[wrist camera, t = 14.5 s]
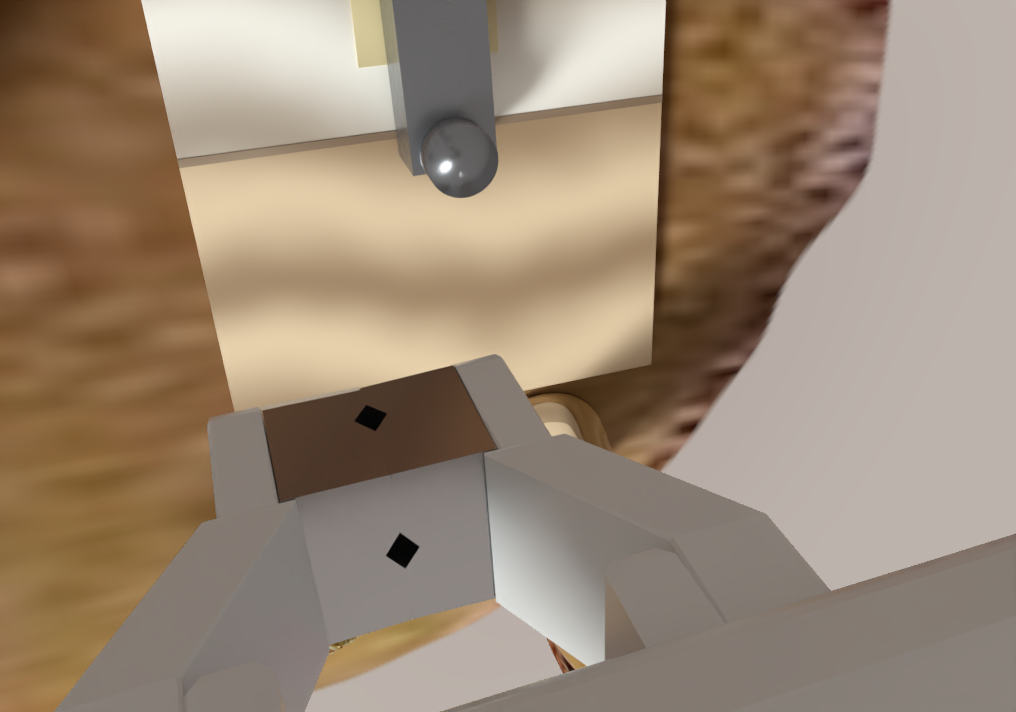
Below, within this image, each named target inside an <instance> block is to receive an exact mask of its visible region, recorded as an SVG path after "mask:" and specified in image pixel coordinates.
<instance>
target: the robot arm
mask: <svg viewBox="0 0 1016 712" xmlns="http://www.w3.org/2000/svg"><path fill="white" fill-rule="evenodd" d="M262 412H263V415H262ZM262 412H261V409H260V408H259V407H253V408H249V409H245V410H240V411H236V412H232V413H227V414H223V415H219V416H214V417H210V418H209V421H208V424H207V428H208V438H209V448H210V458H211V468H212V477H213V487H214V497H215V507H216V517H217V519H214V520H210V521H206V522H202V523H201V524H200V525H199V527H198V528H197V529H196V530H195V532H194V533H193V534H192V536H191V537H190V538H189V539H188V541H187V542H186V543H185V545H184V546H183V547H182V548H181V550H180V551H179V552H178V554H177V555H176V556H175V557H174V559H173V560H172V561H171V563H170V564H169V565H168V566H167V568H166V569H165V570H164V571H163V573H162V574H161V575H160V577H159V578H158V579H157V580H156V582H155V583H154V584H153V586H152V587H151V588H150V589H149V591H148V592H147V593H146V595H145V596H144V597H143V598H142V600H141V601H140V602H139V604H138V605H137V606H136V607H135V609H134V610H133V611H132V612H131V614H130V615H129V616H128V618H127V619H126V620H125V621H124V623H123V624H122V625H121V627H120V628H119V629H118V630H117V632H116V633H115V634H114V636H113V637H112V638H111V639H110V641H109V642H108V643H107V645H106V646H105V647H104V648H103V650H102V651H101V652H100V653H99V655H98V656H97V657H96V659H95V660H94V661H93V662H92V664H91V665H90V666H89V668H88V669H87V670H86V671H85V673H84V674H83V675H82V677H81V678H80V679H79V680H78V682H77V683H76V684H75V686H74V687H73V688H72V689H71V691H70V692H69V693H68V694H67V696H66V697H65V698H64V700H63V701H62V702H61V703H60V705H59V706H58V707H57V709H56V710H55V711H54V712H305V709H306V707H307V704H308V702H309V699H310V697H311V695H312V692H313V690H314V687H315V685H316V683H317V680H318V678H319V675H320V673H321V671H322V668H323V666H324V663H325V661H326V658H327V656H328V654H329V651H330V648H329V645H331V644H334V643H338V642H341V641H344V640H347V639H350V638H354V637H357V636H360V635H363V634H366V633H370V632H373V631H376V630H379V629H383V628H386V627H389V626H392V625H395V624H399V623H402V622H405V621H408V620H411V619H415V618H419V617H423V616H427V615H431V614H435V613H439V612H443V611H446V610H450V609H454V608H458V607H462V606H466V605H470V604H474V603H478V602H482V601H486V600H490V599H493V598H496V602H497V603H499V604H500V605H502V606H503V607H505V608H506V609H507V610H509V611H510V612H512V613H513V614H515V615H516V616H517V617H519V618H520V619H521V620H523V621H524V622H526V623H527V624H528V625H530V626H531V627H533V628H534V629H535V630H537V631H538V632H540V633H541V634H542V635H544V636H545V637H547V638H548V639H550V640H551V641H552V642H554V643H555V644H557V645H558V646H559V647H561V648H562V649H564V650H565V651H566V652H568V653H569V654H571V655H572V656H573V657H575V658H576V659H578V660H579V661H580V662H582V663H583V664H585V665H586V667H583V668H580V669H577V670H573V671H570V672H567V673H564V674H560V675H557V676H554V677H551V678H548V679H544V680H541V681H538V682H535V683H532V684H528V685H525V686H522V687H519V688H515V689H512V690H509V691H506V692H502V693H499V694H496V695H493V696H490V697H486V698H483V699H480V700H477V701H473V702H471V703H467V704H464V705H461V706H457V707H454V708H451V709H448V710H445V711H441V712H1016V534H1013V535H1010V536H1007V537H1004V538H1001V539H998V540H994V541H991V542H988V543H985V544H981V545H978V546H975V547H972V548H969V549H966V550H962V551H959V552H956V553H953V554H950V555H947V556H943V557H940V558H937V559H934V560H931V561H927V562H924V563H921V564H918V565H914V566H911V567H908V568H905V569H902V570H898V571H895V572H892V573H888V574H885V575H882V576H879V577H876V578H872V579H869V580H866V581H862V582H859V583H856V584H853V585H850V586H846V587H843V588H840V589H837V590H833V591H831V590H830V589H829V588H828V587H827V586H826V584H825V583H824V582H823V581H822V580H821V579H820V578H819V576H818V575H817V574H816V573H815V571H814V570H813V569H812V568H811V567H810V565H809V564H808V563H807V562H806V561H805V560H804V558H803V557H802V556H801V555H800V554H799V552H798V551H797V550H796V549H795V548H794V546H793V545H792V544H791V543H790V542H789V541H788V539H787V538H786V537H785V536H784V535H783V533H782V532H781V531H780V530H779V529H778V527H777V526H776V525H775V524H774V523H773V522H772V520H771V519H770V518H769V517H768V516H767V514H765V513H762V512H760V511H757V510H755V509H752V508H750V507H747V506H744V505H742V504H740V503H737V502H735V501H732V500H730V499H727V498H725V497H722V496H720V495H717V494H715V493H712V492H710V491H707V490H705V489H702V488H700V487H697V486H695V485H692V484H690V483H687V482H685V481H682V480H680V479H677V478H675V477H672V476H670V475H667V474H665V473H662V472H660V471H657V470H655V469H652V468H650V467H647V466H645V465H642V464H640V463H637V462H635V461H632V460H630V459H627V458H625V457H622V456H620V455H617V454H615V453H612V452H610V451H607V450H605V449H602V448H600V447H598V446H595V445H593V444H590V443H588V442H585V441H583V440H580V439H578V438H575V437H573V436H570V435H568V434H560V435H556V436H551V434H550V433H549V431H548V429H547V428H546V426H545V425H544V423H543V421H542V420H541V418H540V417H539V415H538V414H537V412H536V410H535V409H534V407H533V406H532V404H531V402H530V401H529V399H528V398H527V396H526V394H525V393H524V391H523V390H522V388H521V387H520V385H519V383H518V382H517V380H516V379H515V377H514V375H513V374H512V372H511V371H510V369H509V368H508V366H507V364H506V363H505V361H504V360H503V358H502V357H501V356H499V355H497V354H492V355H488V356H484V357H480V358H477V359H473V360H469V361H465V362H461V363H457V364H453V365H451V366H447V367H443V368H439V369H435V370H431V371H427V372H423V373H419V374H415V375H411V376H407V377H403V378H398V379H394V380H390V381H386V382H382V383H378V384H374V385H370V386H366V387H362V388H359V387H355V388H350V389H345V390H340V391H335V392H330V393H325V394H320V395H315V396H310V397H305V398H300V399H295V400H290V401H285V402H280V403H275V404H270V405H265V406H262ZM263 418H264V419H263Z"/></svg>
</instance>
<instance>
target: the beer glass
mask: <svg viewBox="0 0 1016 712" xmlns="http://www.w3.org/2000/svg"><path fill="white" fill-rule="evenodd" d="M528 399H529V401H530V402H531V404H532V406H533V407H534V409H535V410H536V412H537V414H538V415H539V417H540V418H541V420H542V421H543V423H544V425H545V426H546V428H547V429H548V431H549V433H550V434H551V436H556V435H560V434H568V435H570V436H573V437H575V438H578V439H580V440H583V441H585V442H588V443H590V444H593V445H595V446H598V447H600V448H602V449H605V450H607V451H610V452H612V453H613V451H612V449H611V446H610V444H609V441H608V438H607V435H606V432H605V429H604V427H603V424H602V422H601V420H600V418H599V417H598V415H597V413H596V412H595V411H594V409H593V408H592V407H591V406H589V405H588V404H587V403H586V402H584V401H583V400H581V399H579V398H577V397H575V396H572V395H568V394H562V393H547V394H540V395H536V396H533V397H529V398H528ZM546 638H547V637H546ZM547 641H548V643H549V646H550V648H551V651H552V652H553V655H554V657H555V659H556V661H557V662H558V664H559V666H560V669H561V670H562V673H563V674H564V673H567V672H570V671H573V670H577V669H580V668H583V667H586V665H585V664H583V663H582V662H580V661H579V660H578V659H576V658H575V657H573V656H572V655H571V654H569V653H568V652H566V651H565V650H564V649H562V648H561V647H559V646H558V645H557V644H555V643H554V642H552V641H551V640H550V639H548V638H547Z"/></svg>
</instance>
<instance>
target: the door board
mask: <svg viewBox="0 0 1016 712" xmlns="http://www.w3.org/2000/svg"><path fill="white" fill-rule="evenodd" d="M141 1H142V5H143V10H144V14H145V19H146V23H147V28H148V32H149V36H150V41H151V45H152V50H153V54H154V58H155V63H156V67H157V72H158V76H159V80H160V85H161V89H162V94H163V98H164V102H165V107H166V111H167V116H168V120H169V124H170V129H171V133H172V138H173V142H174V146H175V151H176V155H177V160H178V164H179V168H180V173H181V177H182V182H183V186H184V190H185V195H186V199H187V204H188V208H189V213H190V217H191V221H192V226H193V230H194V235H195V239H196V243H197V248H198V252H199V257H200V261H201V265H202V270H203V274H204V279H205V283H206V287H207V292H208V296H209V301H210V305H211V309H212V314H213V318H214V323H215V327H216V331H217V336H218V340H219V345H220V349H221V353H222V358H223V362H224V367H225V371H226V375H227V380H228V384H229V389H230V393H231V398H232V402H233V406H234V411H235V412H236V411H240V410H245V409H249V408H253V407H259V408H260V409H261V412H262V406H265V405H270V404H275V403H280V402H285V401H290V400H295V399H300V398H305V397H310V396H315V395H320V394H325V393H330V392H335V391H340V390H345V389H350V388H355V387H359V388H362V387H366V386H370V385H374V384H378V383H382V382H386V381H390V380H394V379H398V378H403V377H407V376H411V375H415V374H419V373H423V372H427V371H431V370H435V369H439V368H443V367H447V366H451V365H453V364H457V363H461V362H465V361H469V360H473V359H477V358H480V357H484V356H488V355H492V354H497V355H499V356H501V357H502V358H503V360H504V361H505V363H506V364H507V366H508V368H509V369H510V371H511V372H512V374H513V375H514V377H515V379H516V380H517V382H518V383H519V385H520V387H521V388H522V390H523V391H525V390H530V389H535V388H540V387H544V386H549V385H554V384H559V383H564V382H569V381H574V380H578V379H583V378H588V377H593V376H598V375H603V374H608V373H612V372H617V371H622V370H627V369H632V368H637V367H642V366H646V365H651V358H652V334H653V309H654V284H655V259H656V234H657V209H658V184H659V160H660V135H661V110H662V96H663V95H662V85H663V60H664V35H665V10H666V0H486V3H487V17H488V31H489V45H490V59H491V73H492V87H493V101H494V115H495V129H496V143H497V152H498V168H497V172H496V174H495V177H494V178H493V180H492V182H491V183H490V184H489V185H488V186H487V187H486V188H485V189H484V190H483V191H481V192H480V193H478V194H476V195H474V196H471V197H467V198H454V197H450V196H448V195H445V194H444V193H442V192H441V191H439V190H438V189H437V188H436V187H435V185H434V184H433V183H432V181H431V180H430V178H429V177H428V176H427V174H424V175H418V176H413V175H412V174H411V172H410V171H409V169H408V168H407V166H406V165H405V163H404V162H403V160H402V159H401V157H400V156H399V152H398V144H397V137H396V129H395V121H394V113H393V105H392V97H391V89H390V81H389V73H388V66H387V58H386V50H385V42H384V34H383V26H382V18H381V10H380V3H379V0H141ZM262 415H263V412H262ZM263 419H264V418H263Z"/></svg>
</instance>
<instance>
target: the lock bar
mask: <svg viewBox="0 0 1016 712" xmlns="http://www.w3.org/2000/svg"><path fill="white" fill-rule="evenodd" d="M379 3H380V10H381V18H382V26H383V34H384V42H385V50H386V58H387V66H388V73H389V81H390V89H391V97H392V105H393V113H394V121H395V129H396V137H397V144H398V152H399V156H400V157H401V159H402V160H403V162H404V163H405V165H406V166H407V168H408V169H409V171H410V172H411V174H412V175H413V176H418V175H424V174H427V176H428V177H429V178H430V180H431V181H432V183H433V184H434V185H435V187H436V188H437V189H438V190H439V191H441V192H442V193H444V194H445V195H448V196H450V197H454V198H467V197H471V196H474V195H476V194H478V193H480V192H481V191H483V190H484V189H485V188H486V187H487V186H488V185H489V184H490V183H491V182H492V180H493V178H494V177H495V174H496V172H497V168H498V152H497V143H496V129H495V115H494V101H493V87H492V73H491V59H490V45H489V31H488V17H487V3H486V0H379Z"/></svg>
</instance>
